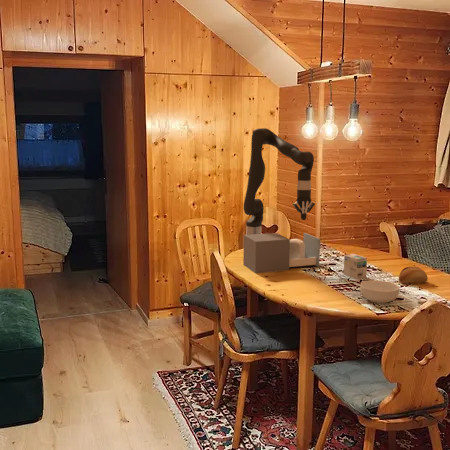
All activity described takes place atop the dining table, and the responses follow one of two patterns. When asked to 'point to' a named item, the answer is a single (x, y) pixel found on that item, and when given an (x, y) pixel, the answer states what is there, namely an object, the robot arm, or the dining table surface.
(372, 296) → the cereal bowl
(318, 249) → the drawer tray
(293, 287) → the dining table surface
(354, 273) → the light bulb box
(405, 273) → the bread roll
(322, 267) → the dining table surface
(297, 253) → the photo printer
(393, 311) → the dining table surface
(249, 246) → the cabinet
